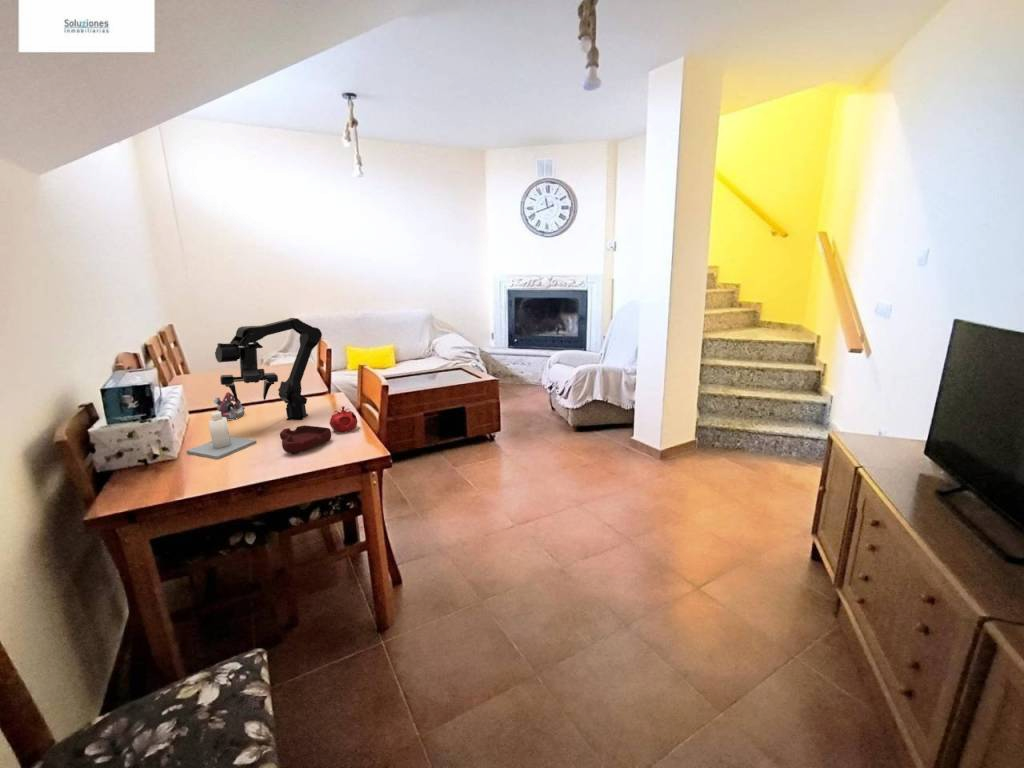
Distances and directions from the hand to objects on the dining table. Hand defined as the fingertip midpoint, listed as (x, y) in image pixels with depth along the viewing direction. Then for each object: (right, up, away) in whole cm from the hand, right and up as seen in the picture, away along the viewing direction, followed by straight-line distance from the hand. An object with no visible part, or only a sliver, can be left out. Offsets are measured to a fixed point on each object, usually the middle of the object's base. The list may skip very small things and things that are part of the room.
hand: (250, 400), depth 179 cm
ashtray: (+27, -16, -13) cm, 34 cm away
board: (-2, -16, -15) cm, 22 cm away
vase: (-2, -15, -15) cm, 21 cm away
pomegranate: (+35, -11, +1) cm, 37 cm away
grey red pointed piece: (-19, -8, +18) cm, 27 cm away
